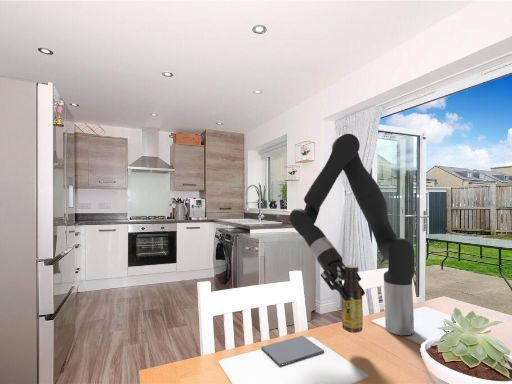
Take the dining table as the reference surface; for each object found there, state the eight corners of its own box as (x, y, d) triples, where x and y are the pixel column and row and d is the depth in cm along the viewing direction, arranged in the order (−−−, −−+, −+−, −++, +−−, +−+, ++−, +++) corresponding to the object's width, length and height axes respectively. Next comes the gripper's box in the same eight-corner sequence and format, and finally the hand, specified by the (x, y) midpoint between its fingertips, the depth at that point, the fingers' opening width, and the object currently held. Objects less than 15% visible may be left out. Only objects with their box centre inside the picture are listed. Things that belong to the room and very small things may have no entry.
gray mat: (302, 337, 95) (302, 335, 95) (324, 352, 85) (323, 350, 85) (261, 348, 87) (261, 346, 87) (279, 366, 78) (279, 364, 78)
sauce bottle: (338, 325, 89) (336, 263, 90) (357, 324, 90) (354, 262, 91) (347, 335, 83) (345, 268, 83) (367, 333, 83) (364, 267, 84)
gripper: (316, 249, 90) (347, 295, 79) (345, 244, 97) (377, 286, 87) (305, 262, 94) (333, 308, 83) (334, 257, 102) (363, 299, 91)
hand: (355, 297), depth 85 cm, fingers closed on sauce bottle, 6 cm apart
